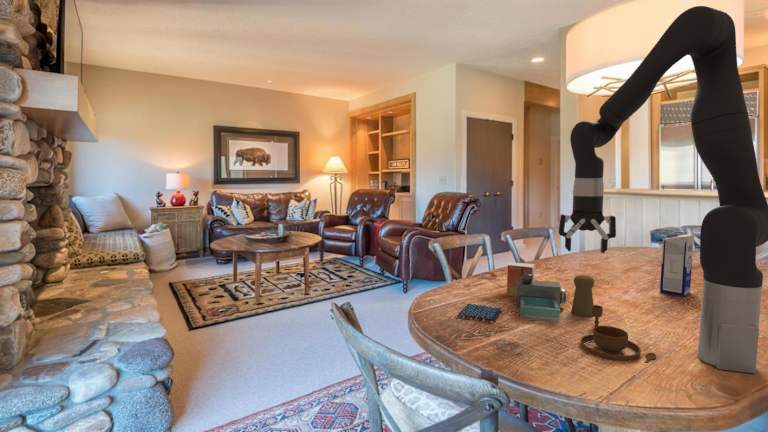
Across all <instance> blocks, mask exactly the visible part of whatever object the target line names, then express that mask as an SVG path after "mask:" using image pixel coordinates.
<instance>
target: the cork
mask: <svg viewBox="0 0 768 432" xmlns="http://www.w3.org/2000/svg"><path fill="white" fill-rule="evenodd" d="M573 284H574V286H575V288H574V295H573V300H572V306H571V311H570V312H571V314H572V315H575V316H578V317H583V318H592V317H594V316H593V315H592V306H593V305H595V304H594V296H593V295H594V294H593V287H594V286H595V279H594V277H592V276H590V275H586V274H585V275H584V274H578V275H576V276H575V277H574V279H573Z"/></svg>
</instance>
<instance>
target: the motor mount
mask: <svg viewBox="0 0 768 432" xmlns="http://www.w3.org/2000/svg"><path fill="white" fill-rule="evenodd" d="M566 302H567V291H566V288H561V284H560V282H559V281H548V280H535V279H534V280H533V274H530V273H524V274H523V280H521V279H517V297H516V307H517V308H519V309H520V310H519V315H520V316H519V317H520V318H519V319H520V320H527V321H528V320H529V321H540V322H547V323H549V322H550V323H558V324H559V323H561V320H560V318H561V305H565V304H566Z"/></svg>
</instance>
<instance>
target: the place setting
mask: <svg viewBox="0 0 768 432" xmlns="http://www.w3.org/2000/svg"><path fill="white" fill-rule="evenodd" d="M603 311H604V309H603V306H602V305H598V304H594V305H593V306H592V315H593V316H592V317H594V319H595V320H594V325H593V328H592V333H591V334H586V335H584V333H585V331H584V332H583V331H581V330H578V331H577V333H579V334H582V335H583V336H582V337H581V338H580V344H581V347H582V348H583V350H585V351H586V352H587V351H588V353H589V354H590V355H593V356H596V357H598V358H602V359H606V360H610V361H611V360H612V361H617V360H618V361H620V362H621V361H623V362H624V361H625V362H626V361H634V360H636V359H638V358H639V357H640V355H641V352H642V349H641V348H640V346H639V345H638V344H637V343H635V342H633V341H631V340H629V333H628V332H627V331H626V330H624V329H621V328H619V327H615V326H609V325H599V324H600V320H599V319H600V318H601V317H602V316H603ZM592 340H594V341H592ZM588 341H589V342H594V344H595V345H596V346H597V347H598V348H599V349H600V350H601V351H603V352H601V351H598V350H596V349H592V348H591V347H589V346H587V345H586V343H585V342H587V343H589V342H588ZM584 343H585V344H584ZM626 348H629V349H630V348H631V350H632V351H633V352H634V354H628V355H620V354H619V355H618V354H616V353H620V351H623V350H625V349H626ZM604 352H605V353H604ZM610 353H611V354H610ZM645 358H646V360H645V361H644V363H649V362H650V361H653V360H655V359H656V358H657V354H656V353H654V352H648V353H646V354H645Z"/></svg>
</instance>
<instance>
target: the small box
mask: <svg viewBox="0 0 768 432" xmlns="http://www.w3.org/2000/svg"><path fill="white" fill-rule="evenodd" d="M535 269H536V264H535V263H524V262H513V261H510V262H509V263H508V264H507V275H506V296H508V297H516V298H517V279H521V280H523V274H524V273H530V274H533V280H535Z"/></svg>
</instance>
